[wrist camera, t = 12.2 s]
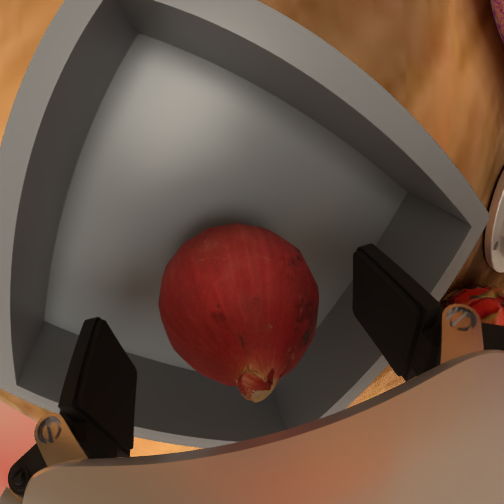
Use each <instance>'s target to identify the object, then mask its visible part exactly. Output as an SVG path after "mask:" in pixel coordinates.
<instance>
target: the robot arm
mask: <svg viewBox="0 0 504 504" xmlns="http://www.w3.org/2000/svg"><path fill="white" fill-rule="evenodd" d="M489 215H490V216H491V217H490V219H489V221H488V222H487V224H486V230H485V242H484V244H485V256H486V261H487V263H488V265H489V266H490V267H491V268H493V269H494V270H495V271H497V272H499V273H502V272H504V170H503V172H502V174H501V176H500V178H499V181H498V183H497V186H496V189H495V192H494V195H493V198H492V202H491V205H490V209H489ZM440 305H441V304H440V303H439V302H438V301H437V300H436V299H435V298H434V297H433V296H432V295H431V294H430V293H429V292H428V291H426V290H425V289H424V288H423V287H422V286H421V285H420V284H419V283H418V282H417V281H415V280H414V279H413V278H412V277H411V276H410V275H409V274H408V273H406V272H405V271H404V270H403V269H402V268H401V267H400V266H398V265H397V264H396V263H395V262H394V261H393V260H392V259H390V258H389V257H388V256H387V255H386V254H384V253H383V252H382V251H381V250H380V249H379V248H377V247H376V246H375V245H374V244H372V243H371V244H367V245H364V246H360V247H358V248H357V250H356V252H354V254H353V301H352V310H353V313H354V316H355V317H356V319H357V320H358V321H359V323H360V324H361V325H362V327H363V328H364V330H365V331H366V332H367V334H368V335H369V336H370V338H371V339H372V341H373V342H374V343H375V345H376V346H377V347H378V349H379V350H380V352H381V353H382V354H383V356H384V357H385V359H386V360H387V362H388V363H389V364H390V366H391V367H392V369H393V370H394V372H395V373H396V374H397V375H398V376H401V375H402V377H403V378H404V380H405V381H406V382H405V383H403V384H401V385H399V386H397V387H395V388H393V389H390V390H388V391H386V392H384V393H382V394H380V395H378V396H375V397H373V398H371V399H369V400H366V401H364V402H362V403H359V404H357V405H354V406H352V407H350V408H347V409H345V410H342V411H339V412H337V413H334V414H331V415H329V416H326V417H323V418H320V419H318V420H315V421H312V422H309V423H306V424H303V425H300V426H296V427H293V428H290V429H287V430H283V431H280V432H276V433H273V434H269V435H265V436H261V437H257V438H253V439H249V440H245V441H241V442H236V443H232V444H227V445H222V446H216V447H211V448H205V449H199V450H193V451H186V452H179V453H171V454H162V455H151V456H138V457H130V449H132V448H133V441H134V416H135V399H136V386H137V370H136V367H135V366H134V364H133V363H132V361H131V360H130V358H129V357H128V355H127V354H126V352H125V351H124V349H123V348H122V346H121V344H120V343H119V341H118V340H117V338H116V336H115V335H114V333H113V332H112V330H111V328H110V327H109V325H108V323H107V322H106V321H105V320H102V319H101V318H100V317H95V318H90V319H86V320H85V321H84V323H83V326H82V328H81V331H80V334H79V337H78V340H77V343H76V346H75V349H74V352H73V355H72V358H71V361H70V364H69V368H68V371H67V374H66V378H65V381H64V385H63V389H62V392H61V396H60V400H59V404H58V408H59V409H60V413H59V414H58V413H48V414H46V415H44V416H43V417H42V418H41V419H40V420H39V421H38V423H37V425H36V427H35V431H34V433H35V434H34V436H35V440H36V444H35V445H34V446H33V447H32V448H31V449H30V450H29V451H28V452H27V453H25V454H24V456H22V457H21V458H20V459H19V460H18V461H17V462H16V463H15V464H14V465H13V466H12V467H11V468H10V471H9V474H8V483H9V486H10V489H9V488H7V487H6V488H5V490H4V492H3V494H2V496H1V497H0V504H504V326H502V325H495V324H489V323H482V322H481V320H480V317H479V315H478V313H477V312H476V311H475V310H474V309H473V308H471V307H469V306H467V305H464V304H453V305H449V306H448V307H446V308H445V310H444V309H443V308H442V307H441V306H440ZM416 376H417V377H416ZM414 377H415V378H414ZM412 378H413V379H412ZM410 379H411V380H410ZM119 457H124V458H119Z"/></svg>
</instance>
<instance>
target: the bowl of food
mask: <svg viewBox="0 0 504 504" xmlns="http://www.w3.org/2000/svg"><path fill="white" fill-rule="evenodd" d="M491 7H492V12H493V16H494V19H495V22H496V26H497V29H498V31H499V34H500V36H501V39H502V41H503V43H504V0H491Z"/></svg>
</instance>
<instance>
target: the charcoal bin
mask: <svg viewBox="0 0 504 504" xmlns="http://www.w3.org/2000/svg"><path fill="white" fill-rule="evenodd" d="M490 217H491V216H490V215H489V213H488V211H487V210H486V208H485V207H484V205H483V204H482V202H481V201H480V199H479V198H478V196H477V195H476V193H475V192H474V190H473V189H472V187H471V186H470V184H469V183H468V182H467V180H466V179H465V178H464V176H463V175H462V174H461V172H460V171H459V170H458V168H457V167H456V166H455V164H454V163H453V162H452V161H451V159H450V158H449V157H448V156H447V154H446V153H445V152H444V151H443V149H442V148H441V147H440V146H439V145H438V144H437V142H436V141H435V140H434V139H433V138H432V137H431V135H430V134H429V133H428V132H427V131H426V130H425V129H424V128H423V127H422V126H421V124H420V123H419V122H418V121H417V120H416V119H415V118H414V117H413V116H412V115H411V114H410V113H409V112H408V111H407V110H406V109H405V108H404V107H403V106H402V105H401V104H400V103H399V102H398V101H397V100H396V99H395V98H394V97H393V96H392V95H391V94H390V93H388V92H387V91H386V90H385V89H384V88H383V87H382V86H381V85H380V84H379V83H377V82H376V81H375V80H374V79H373V78H372V77H371V76H369V75H368V74H367V73H366V72H365V71H363V70H362V69H361V68H360V67H358V66H357V65H356V64H355V63H354V62H352V61H351V60H350V59H348V58H347V57H346V56H344V55H343V54H342V53H341V52H339V51H338V50H336V49H335V48H334V47H332V46H331V45H330V44H328V43H327V42H325V41H324V40H322V39H321V38H320V37H318V36H317V35H315V34H314V33H312V32H311V31H309V30H308V29H306V28H304V27H303V26H301V25H300V24H298V23H296V22H295V21H293V20H292V19H290V18H288V17H286V16H285V15H283V14H281V13H280V12H278V11H276V10H274V9H272V8H271V7H269V6H267V5H265V4H263V3H261V2H259V1H257V0H65V1H64V2H63V4H62V5H61V7H60V8H59V10H58V11H57V13H56V15H55V16H54V18H53V20H52V21H51V23H50V25H49V27H48V28H47V30H46V32H45V34H44V36H43V38H42V39H41V41H40V43H39V45H38V47H37V49H36V51H35V53H34V55H33V57H32V60H31V62H30V64H29V66H28V68H27V71H26V73H25V75H24V78H23V80H22V83H21V85H20V88H19V90H18V93H17V95H16V98H15V101H14V104H13V107H12V110H11V113H10V116H9V119H8V122H7V125H6V129H5V132H4V136H3V139H2V143H1V147H0V388H1V389H2V390H4V391H6V392H8V393H10V394H13V395H15V396H17V397H19V398H21V399H23V400H25V401H28V402H30V403H32V404H34V405H37V406H39V407H42V408H44V409H46V410H49V411H52V412H54V413H58V414H59V413H60V409H59V408H58V404H59V400H60V396H61V392H62V389H63V385H64V381H65V378H66V374H67V371H68V368H69V364H70V361H71V358H72V355H73V352H74V349H75V346H76V343H77V340H78V337H79V334H80V331H81V328H82V326H83V323H84V321H85V320H86V319H90V318H95V317H100V318H101V319H102V320H105V321H106V322H107V323H108V325H109V327H110V328H111V330H112V332H113V333H114V335H115V336H116V338H117V340H118V341H119V343H120V344H121V346H122V348H123V349H124V351H125V352H126V354H127V355H128V357H129V358H130V360H131V361H132V363H133V364H134V366H135V367H136V370H137V386H136V399H135V416H134V437H139V438H143V439H148V440H153V441H159V442H164V443H170V444H177V445H184V446H191V447H199V448H211V447H216V446H222V445H227V444H232V443H236V442H241V441H245V440H249V439H253V438H257V437H261V436H265V435H269V434H273V433H276V432H280V431H283V430H287V429H290V428H293V427H296V426H300V425H303V424H306V423H309V422H312V421H315V420H318V419H320V418H323V417H326V416H329V415H331V414H334V413H337V412H339V411H342V410H344V409H345V408H346V407H347V406H348V405H349V404H350V403H351V402H353V401H354V400H355V399H356V398H357V397H358V396H359V395H360V394H361V393H362V392H363V391H364V390H365V389H366V388H367V387H368V386H369V385H370V384H371V383H372V382H373V381H374V380H375V379H376V378H377V376H378V375H379V374H380V373H381V372H382V371H383V370H384V369H385V368H386V367H387V366H388V365H389V363H388V362H387V360H386V359H385V357H384V356H383V354H382V353H381V352H380V350H379V349H378V347H377V346H376V345H375V343H374V342H373V341H372V339H371V338H370V336H369V335H368V334H367V332H366V331H365V330H364V328H363V327H362V325H361V324H360V323H359V321H358V320H357V319H356V317H355V316H354V313H353V310H352V301H353V254H354V252H356V250H357V248H358V247H360V246H364V245H367V244H371V243H372V244H374V245H375V246H376V247H377V248H379V249H380V250H381V251H382V252H383V253H384V254H386V255H387V256H388V257H389V258H390V259H392V260H393V261H394V262H395V263H396V264H397V265H398V266H400V267H401V268H402V269H403V270H404V271H405V272H406V273H408V274H409V275H410V276H411V277H412V278H413V279H414V280H415V281H417V282H418V283H419V284H420V285H421V286H422V287H423V288H424V289H425V290H426V291H428V292H429V293H430V294H431V295H432V296H433V297H434V298H435V299H436V300H437V301H438V302H439V301H440V300H441V298H442V297H443V296H444V294H445V293H446V291H447V290H448V288H449V287H450V285H451V284H452V282H453V281H454V279H455V278H456V276H457V275H458V273H459V271H460V270H461V268H462V267H463V265H464V263H465V262H466V260H467V258H468V257H469V255H470V253H471V252H472V250H473V248H474V246H475V245H476V243H477V241H478V239H479V238H480V236H481V234H482V232H483V230H484V228H485V226H486V224H487V222H488V221H489V219H490ZM234 223H242V224H247V225H252V226H257V227H261V228H266V229H268V230H270V231H272V232H274V233H276V234H277V235H279V236H280V237H282V238H283V239H285V240H286V241H288V242H289V243H291V244H292V245H294V246H295V247H297V248H298V249H299V250H300V252H301V254H302V256H303V257H304V259H305V261H306V263H307V265H308V267H309V269H310V271H311V273H312V275H313V277H314V279H315V281H316V283H317V285H318V289H319V308H318V318H317V326H316V332H315V335H314V338H313V340H312V342H311V344H310V345H309V347H308V349H307V350H306V352H305V354H304V355H303V357H302V358H301V360H300V361H299V363H298V364H297V366H296V367H295V368H294V369H293V370H292V371H291V372H289V373H288V374H286V375H285V376H283V377H282V378H281V379H280V380H279V381H278V383H277V385H276V386H275V388H274V390H273V391H272V392H271V393H270V394H269V395H268V396H267V397H266V398H265V399H263V400H262V401H259V402H256V403H255V402H253V401H251V400H246V399H245V398H244V396H243V395H242V394H241V393H240V392H239V389H238V387H237V386H226V385H224V384H222V383H219V382H217V381H215V380H213V379H210V378H208V377H206V376H204V375H202V374H200V373H199V372H197V371H196V370H195V369H193V368H192V367H191V366H190V365H189V364H188V363H187V362H186V361H185V360H183V359H182V358H181V357H180V356H179V355H178V354H177V352H176V351H175V350H174V349H173V347H172V345H171V343H170V341H169V339H168V337H167V334H166V331H165V328H164V325H163V323H162V320H161V316H160V311H159V306H158V302H159V295H160V289H161V282H162V277H163V274H164V271H165V267H166V265H167V264H168V262H169V261H170V260H171V258H172V257H173V256H174V255H175V253H176V252H177V251H178V249H179V248H180V247H181V246H182V244H183V243H185V242H186V241H188V240H189V239H191V238H193V237H194V236H196V235H198V234H199V233H201V232H203V231H204V230H206V229H208V228H210V227H216V226H222V225H228V224H234Z"/></svg>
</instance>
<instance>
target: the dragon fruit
mask: <svg viewBox="0 0 504 504" xmlns="http://www.w3.org/2000/svg"><path fill="white" fill-rule="evenodd" d="M441 301H446V306H447V307H448V306H449V305H453V304H464V305H467V306H469V307H471V308H473V309H474V310H475V311H476V312H477V313H478V315H479V317H480V320H481V322H482V323H489V324H495V325H502V326H504V295H503V294H502V292H501V291H500V290H499V289H498V288H496V287H495V286H493V287H491V288H490V287H489V286H486V285H484V284H477V286H476V288H475V289H471V290H469V289H462V290H459V291H458V289H456V290H454V291H452V292H450V293H449V294H447V295H446V296H445V297H444V298H443V299H442V300H441Z"/></svg>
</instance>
